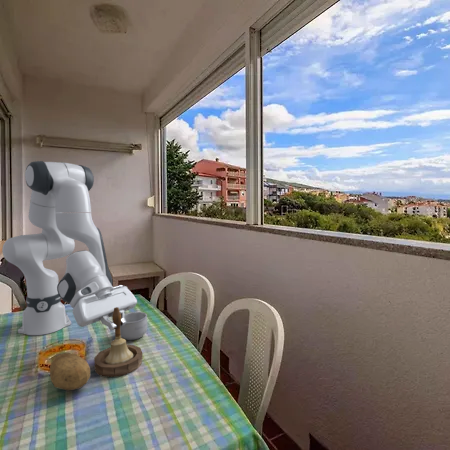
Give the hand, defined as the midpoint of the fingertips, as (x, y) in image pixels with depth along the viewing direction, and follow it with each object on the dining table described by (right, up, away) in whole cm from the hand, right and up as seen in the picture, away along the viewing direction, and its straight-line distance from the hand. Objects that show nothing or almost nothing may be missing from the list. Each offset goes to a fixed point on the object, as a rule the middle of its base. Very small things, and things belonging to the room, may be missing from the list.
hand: (118, 326), depth 93 cm
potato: (-10, -13, -10) cm, 19 cm away
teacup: (-2, -11, +23) cm, 25 cm away
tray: (0, -12, +1) cm, 12 cm away
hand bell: (0, -10, +1) cm, 10 cm away
